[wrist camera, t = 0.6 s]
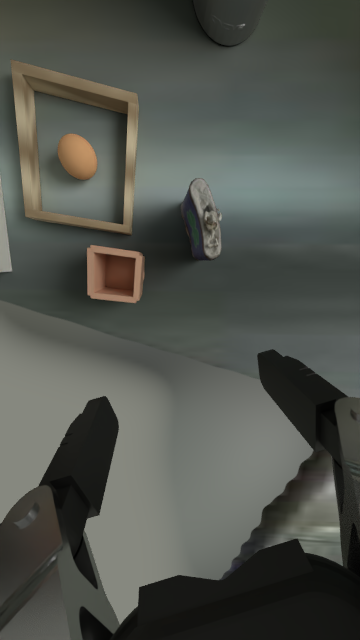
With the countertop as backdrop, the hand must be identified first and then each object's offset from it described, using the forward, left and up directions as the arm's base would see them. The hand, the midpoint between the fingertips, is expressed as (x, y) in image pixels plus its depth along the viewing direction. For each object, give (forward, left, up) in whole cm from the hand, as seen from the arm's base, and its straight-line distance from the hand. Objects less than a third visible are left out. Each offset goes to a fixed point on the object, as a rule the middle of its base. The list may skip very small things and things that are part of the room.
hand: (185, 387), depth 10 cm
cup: (-3, -8, -25) cm, 26 cm away
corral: (-17, -14, -25) cm, 33 cm away
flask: (-11, +3, -25) cm, 28 cm away
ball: (-17, -14, -23) cm, 32 cm away
